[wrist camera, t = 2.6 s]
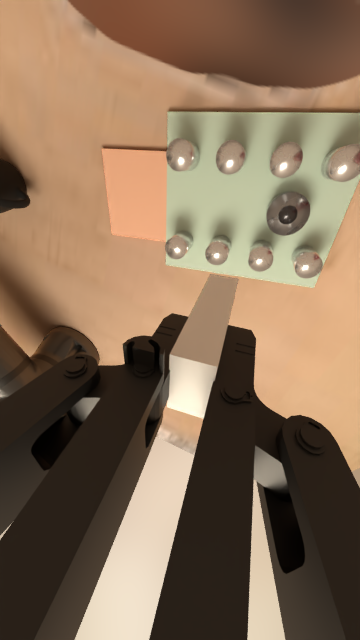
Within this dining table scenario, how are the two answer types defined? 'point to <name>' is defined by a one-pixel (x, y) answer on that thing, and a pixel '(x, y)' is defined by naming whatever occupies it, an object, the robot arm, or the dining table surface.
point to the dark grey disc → (287, 213)
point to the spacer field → (256, 187)
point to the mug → (11, 188)
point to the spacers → (282, 164)
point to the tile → (136, 192)
